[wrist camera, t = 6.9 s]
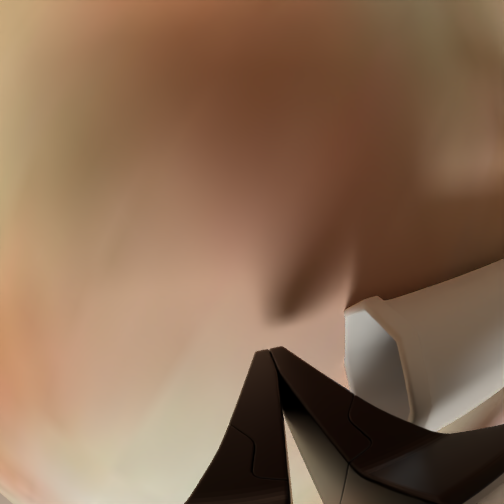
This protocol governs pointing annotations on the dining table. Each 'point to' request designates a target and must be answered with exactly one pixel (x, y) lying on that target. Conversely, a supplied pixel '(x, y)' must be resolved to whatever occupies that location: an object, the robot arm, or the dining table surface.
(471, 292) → the tube
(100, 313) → the dining table surface
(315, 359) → the dining table surface
